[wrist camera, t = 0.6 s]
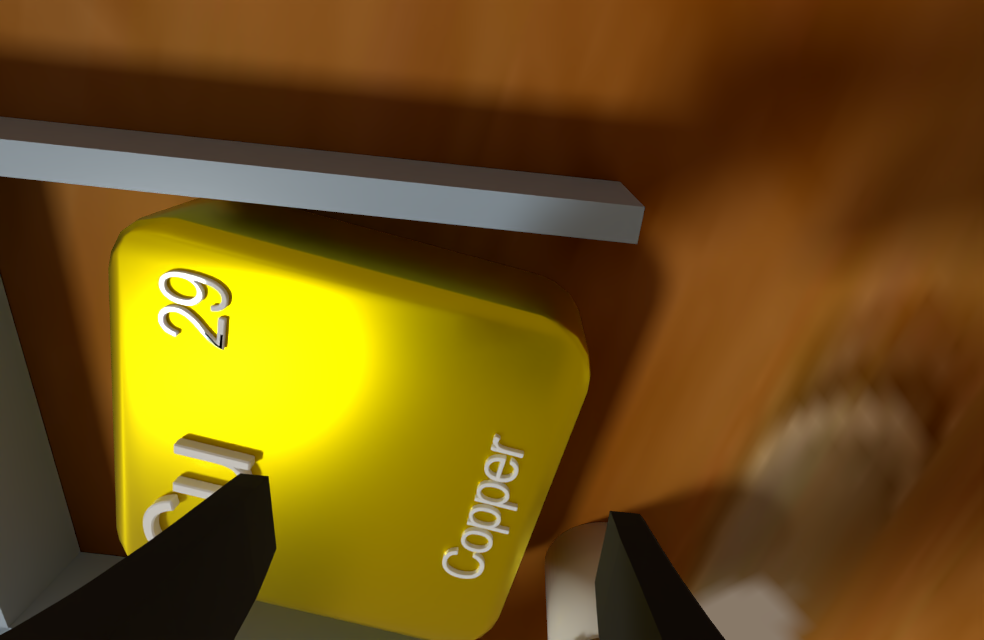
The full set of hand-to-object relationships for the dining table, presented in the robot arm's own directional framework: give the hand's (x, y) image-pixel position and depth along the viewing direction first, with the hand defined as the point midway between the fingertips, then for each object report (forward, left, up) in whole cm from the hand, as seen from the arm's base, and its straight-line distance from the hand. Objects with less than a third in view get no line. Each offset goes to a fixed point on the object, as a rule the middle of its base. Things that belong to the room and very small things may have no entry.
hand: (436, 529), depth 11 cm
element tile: (-4, +4, -10) cm, 12 cm away
